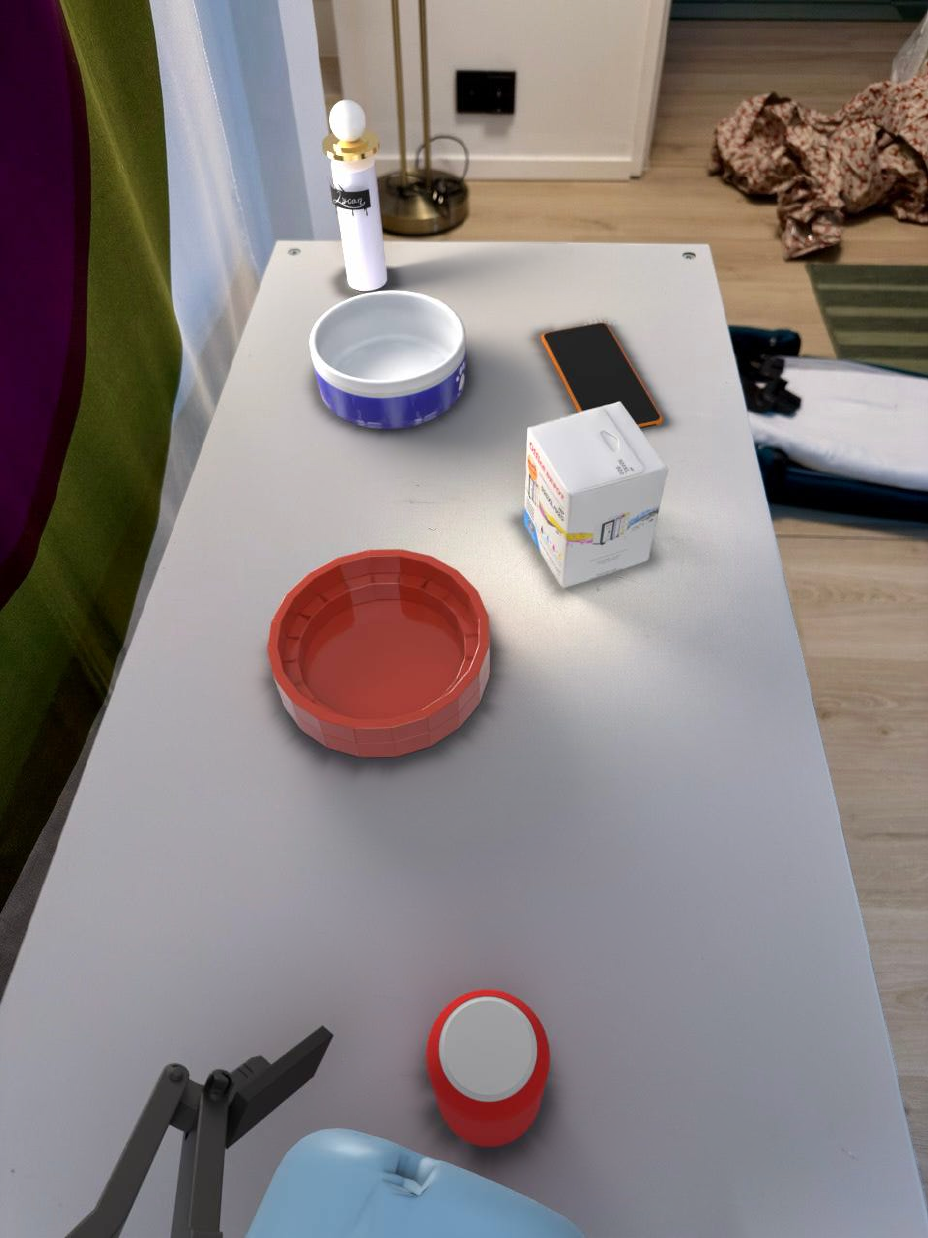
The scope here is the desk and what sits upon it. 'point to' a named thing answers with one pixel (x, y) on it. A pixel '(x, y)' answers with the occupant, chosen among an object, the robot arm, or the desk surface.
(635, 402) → the smartphone
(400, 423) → the dog bowl
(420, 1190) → the robot arm
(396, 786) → the desk surface
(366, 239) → the perfume bottle
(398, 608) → the red bowl
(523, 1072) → the beverage can
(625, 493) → the ink box
